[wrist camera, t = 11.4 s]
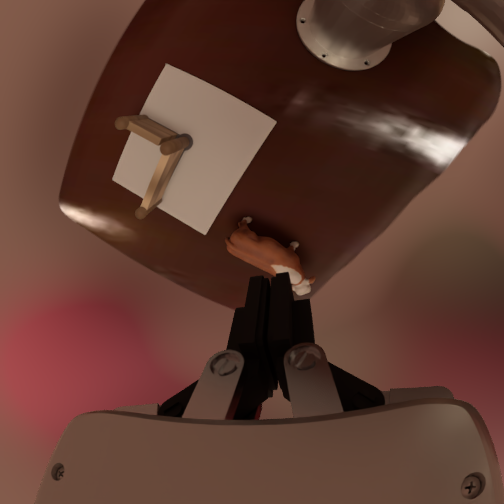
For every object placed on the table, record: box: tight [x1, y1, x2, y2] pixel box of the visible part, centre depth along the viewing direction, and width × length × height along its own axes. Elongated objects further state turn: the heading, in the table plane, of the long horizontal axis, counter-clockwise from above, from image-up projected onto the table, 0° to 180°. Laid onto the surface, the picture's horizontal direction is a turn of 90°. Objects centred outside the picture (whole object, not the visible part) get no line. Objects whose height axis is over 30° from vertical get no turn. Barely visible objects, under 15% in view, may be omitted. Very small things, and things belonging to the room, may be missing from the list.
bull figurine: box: [225, 217, 316, 295], centre depth 37 cm, size 4×13×8 cm, turn 58°
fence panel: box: [135, 137, 189, 219], centre depth 34 cm, size 11×2×6 cm, turn 151°
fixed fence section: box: [115, 115, 177, 146], centre depth 31 cm, size 2×6×6 cm, turn 59°
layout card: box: [112, 64, 277, 235], centre depth 35 cm, size 19×17×1 cm
